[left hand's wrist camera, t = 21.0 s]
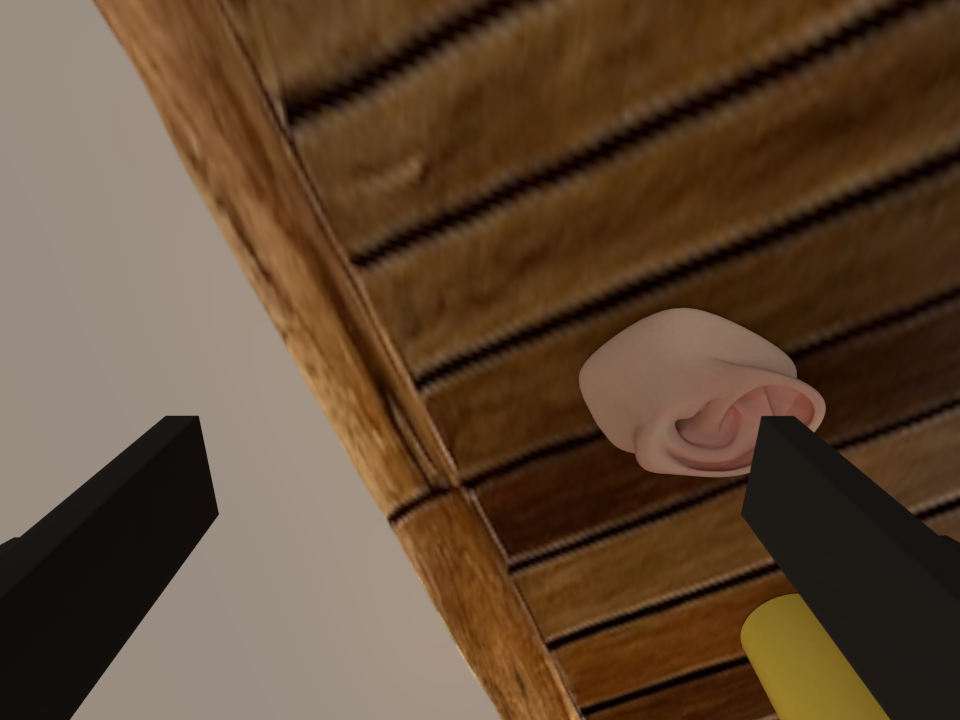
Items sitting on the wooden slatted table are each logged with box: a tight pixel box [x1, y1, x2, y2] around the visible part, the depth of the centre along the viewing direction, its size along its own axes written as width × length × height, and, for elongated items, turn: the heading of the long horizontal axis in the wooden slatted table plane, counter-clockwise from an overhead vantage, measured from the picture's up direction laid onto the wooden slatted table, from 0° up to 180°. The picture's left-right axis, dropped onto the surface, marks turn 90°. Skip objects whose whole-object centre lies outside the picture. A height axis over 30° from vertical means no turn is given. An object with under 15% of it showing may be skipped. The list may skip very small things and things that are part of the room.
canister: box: [741, 593, 890, 720], centre depth 38 cm, size 8×8×11 cm
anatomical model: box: [579, 308, 826, 477], centre depth 34 cm, size 13×4×12 cm
